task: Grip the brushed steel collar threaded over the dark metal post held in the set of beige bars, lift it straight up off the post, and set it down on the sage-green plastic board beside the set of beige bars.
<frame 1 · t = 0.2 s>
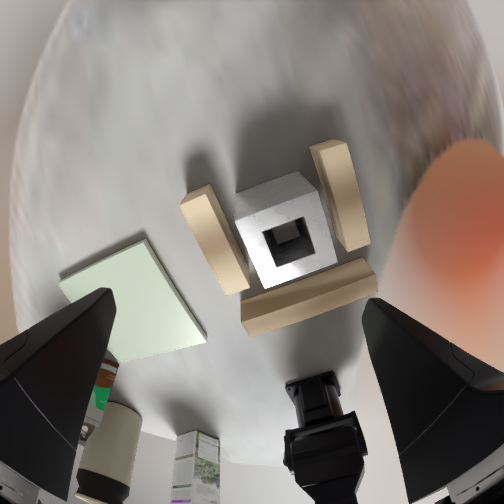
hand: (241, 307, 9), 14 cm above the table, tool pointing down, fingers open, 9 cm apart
board: (129, 309, 26), on the table
food container: (91, 368, 31), on the table
steel collar: (277, 210, 22), resting in set of beige bars
syrup box: (198, 437, 40), on the table
set of beige bars: (277, 210, 22), on the table
travel mug: (120, 411, 36), on the table
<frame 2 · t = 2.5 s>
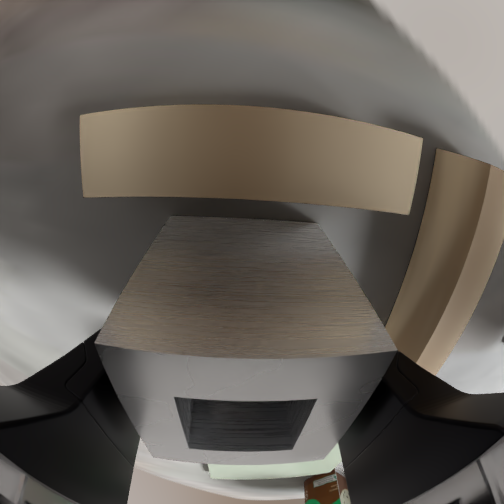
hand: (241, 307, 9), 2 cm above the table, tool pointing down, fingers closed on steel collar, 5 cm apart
board: (280, 453, 18), on the table
food container: (319, 479, 25), on the table
steel collar: (240, 282, 10), resting in set of beige bars, touching gripper
set of beige bars: (240, 282, 10), on the table
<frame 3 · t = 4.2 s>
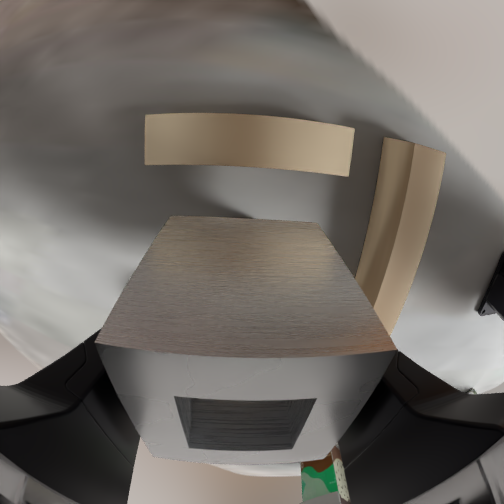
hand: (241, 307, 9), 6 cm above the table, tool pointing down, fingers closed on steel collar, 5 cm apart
food container: (314, 451, 29), on the table
steel collar: (240, 282, 10), point 5 cm above the table, touching gripper
set of beige bars: (241, 234, 14), on the table
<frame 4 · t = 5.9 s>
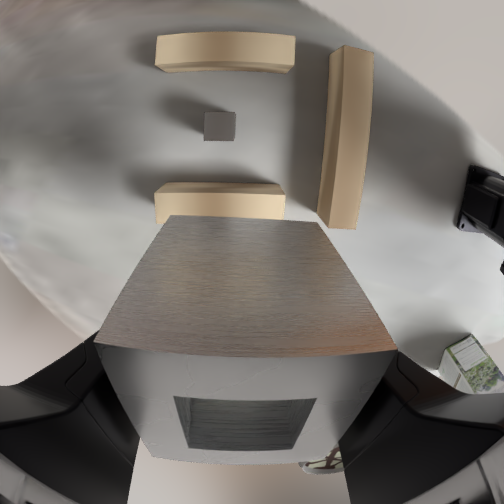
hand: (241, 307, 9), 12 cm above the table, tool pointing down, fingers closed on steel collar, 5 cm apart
food container: (311, 397, 31), on the table
steel collar: (240, 281, 10), point 10 cm above the table, touching gripper
syrup box: (454, 351, 30), on the table
set of beige bars: (223, 125, 17), on the table
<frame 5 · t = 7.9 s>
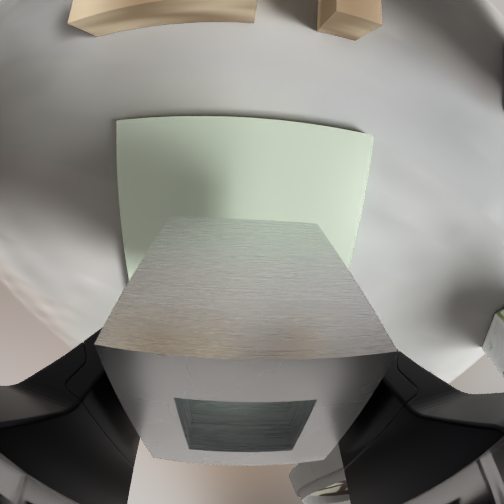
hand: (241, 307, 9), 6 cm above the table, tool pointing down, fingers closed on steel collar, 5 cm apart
board: (238, 237, 14), on the table
food container: (316, 385, 21), on the table
steel collar: (240, 282, 10), point 4 cm above the table, touching gripper
syrup box: (501, 320, 20), on the table
when the fingers open (3 cm above the table, at t = 9.3 s): steel collar stays where it is, resting on board.
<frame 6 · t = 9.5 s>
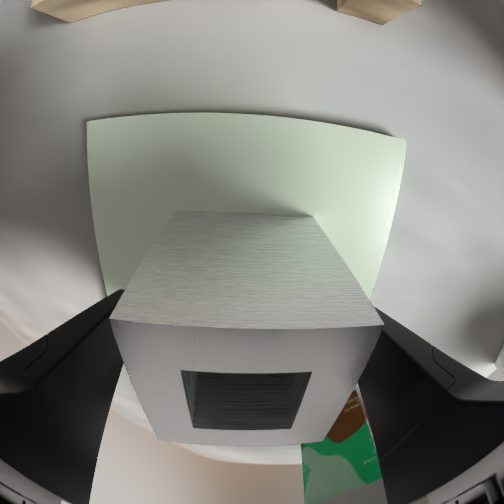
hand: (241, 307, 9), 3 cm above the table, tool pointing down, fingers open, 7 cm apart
board: (239, 264, 12), on the table
food container: (324, 412, 18), on the table
steel collar: (241, 273, 11), point 1 cm above the table, touching board
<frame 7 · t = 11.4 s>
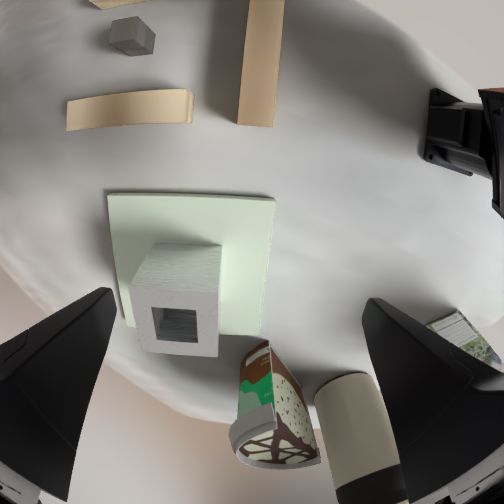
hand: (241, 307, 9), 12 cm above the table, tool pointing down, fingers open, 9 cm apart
board: (189, 268, 21), on the table
food container: (260, 374, 28), on the table
steel collar: (188, 273, 21), point 1 cm above the table, touching board
syrup box: (438, 331, 28), on the table
set of beige bars: (143, 45, 14), on the table
travel mug: (343, 389, 31), on the table
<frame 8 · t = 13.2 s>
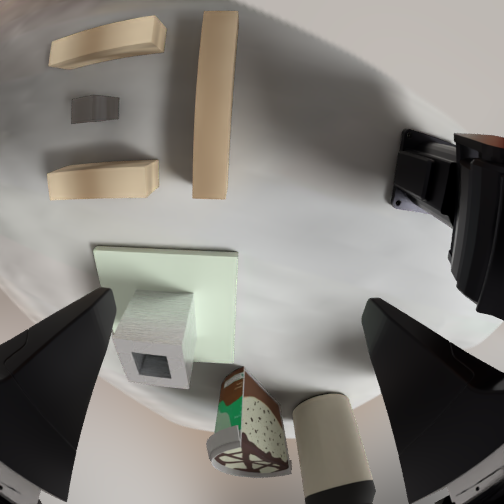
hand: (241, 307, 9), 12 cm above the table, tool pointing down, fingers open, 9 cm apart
board: (168, 309, 24), on the table
food container: (240, 393, 30), on the table
steel collar: (167, 314, 23), point 1 cm above the table, touching board
set of beige bars: (109, 109, 16), on the table
travel mug: (320, 406, 33), on the table
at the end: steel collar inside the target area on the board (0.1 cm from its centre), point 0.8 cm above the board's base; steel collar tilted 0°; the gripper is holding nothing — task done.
